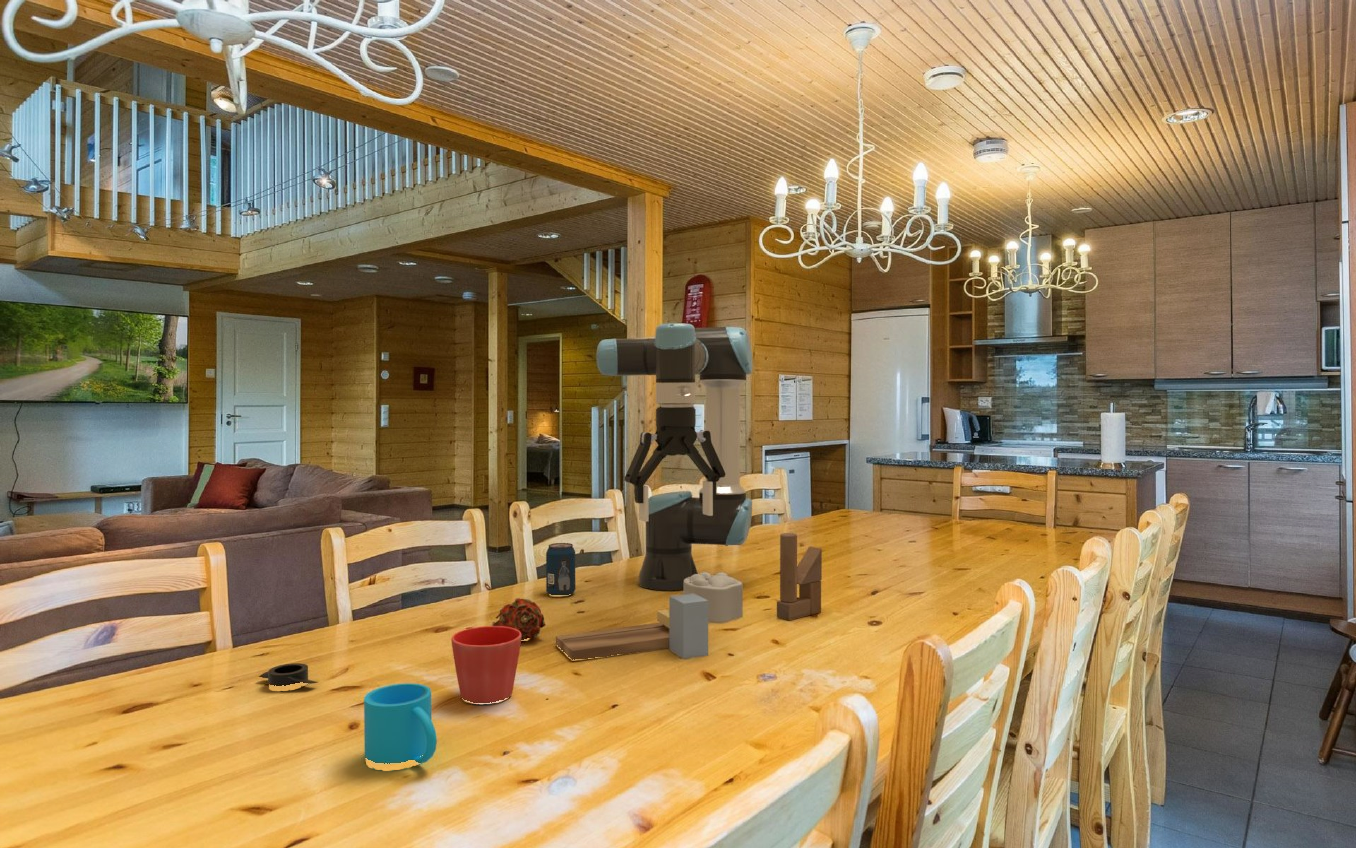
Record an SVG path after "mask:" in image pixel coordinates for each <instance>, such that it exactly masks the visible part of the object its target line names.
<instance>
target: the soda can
mask: <svg viewBox="0 0 1356 848" xmlns="http://www.w3.org/2000/svg"><path fill="white" fill-rule="evenodd" d="M545 567H546V568H545V586H546V587H545V590H546V591H545V592H546V593H547V595H549V594H551V595H569V594H574V593H575V591H576V549H574V544H572V543H569V542H554V543H550V544H548V548H547V549H546V551H545Z"/></svg>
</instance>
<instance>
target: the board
mask: <svg viewBox="0 0 1356 848" xmlns="http://www.w3.org/2000/svg"><path fill="white" fill-rule="evenodd" d="M556 645H558V647H560V648H561V650H563V652H565V653H566V654H567V655H568V657H570V658H571V659H572V660H573V659H574V660H575V659H588V658H595V657H605V658H608V657H607V656H611V655H617V654H626V655H630V654H629V653H633V654H638V653H637V652H639V653H644V652H645V653H646V652H651V651H652V650H653V651H660V650H666V649H669V628H668V627H666V626H662V624H661V623H660V622H655V623H648V624H647V623H646V624H637V625H632V626H631V625H630V626H622V627H615V628H608V629H601V630H593V631H585V632H576V633H569V634H563V635H556V636H555V646H556Z"/></svg>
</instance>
